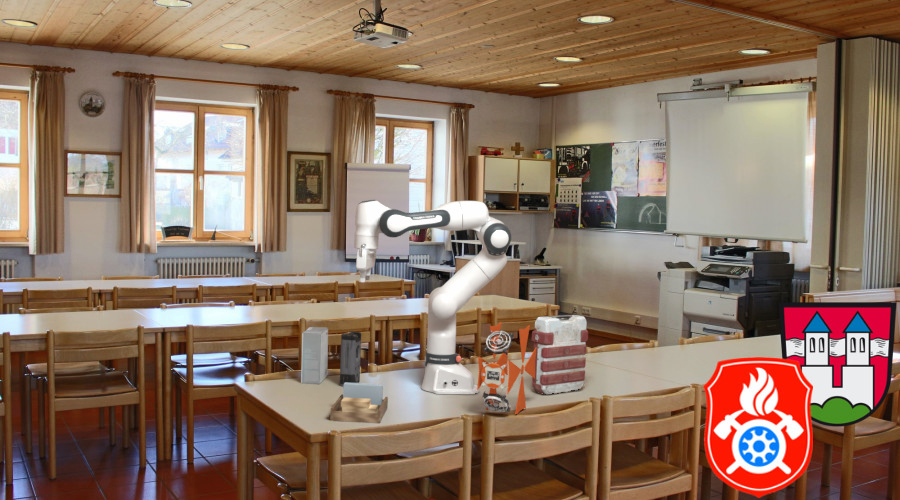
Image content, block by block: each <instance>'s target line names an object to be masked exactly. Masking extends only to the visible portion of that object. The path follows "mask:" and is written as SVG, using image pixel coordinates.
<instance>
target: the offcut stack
mask: <svg viewBox="0 0 900 500" xmlns="http://www.w3.org/2000/svg"><path fill="white" fill-rule="evenodd" d="M341 407H342V409H340V410H339V411H345V412H364V413H378V405H371V399H366V398H347V397H344V398H343V399H342V400H341Z"/></svg>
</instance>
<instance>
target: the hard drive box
mask: <svg viewBox="0 0 900 500" xmlns="http://www.w3.org/2000/svg"><path fill="white" fill-rule="evenodd" d="M328 345H329V327H325V326H324V327H323V326H309V327H308V328H307V329H306V330H304V331H303V332H302V333H301V364H300V365H301V367H300V369H301V370H300V371H301V372H300V384H311V385H320V384H321V383H322V382H323V381H324V380H325V379H326V378H327V376H328V359H329V357H328V352H329V351H328V350H329V348H328V347H329V346H328Z"/></svg>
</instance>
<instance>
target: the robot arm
mask: <svg viewBox="0 0 900 500" xmlns="http://www.w3.org/2000/svg"><path fill="white" fill-rule="evenodd" d="M354 225H355V232H354V240H353V241H354V242H353V243H354V245H353V247H354V249H357V252H356V260H355V261H356V262H355V269H356V271H359V272H358V273H359V282H360V283H366V281H369V280H370V279H371V272H372V268H374V267H375V264H376V258H377V250H378V249H379V236H380V234H383V235H384V236H386V237H389V238H398V237H401V236H403V235H405V234H406V233H407V232H411V231H417V230H426V229H438V230H441V231H450V232H456V231H467V230H473V232H474V235H475V236H476V238H477V240H479V242H480V243H481V244H482V247H481V250H480V251H479V252H478V254H476V255H475V256H474V257H473V258H472V259H470V260H469V261H468V262H467V263H466V264H465V265H463V267H461V268H459V270H458V271H456V272H455V274H453V276H451V278H449V279H448V280H447V281H446V282H445V283H444V284H442V286H439V287H436V288H434V289H433V290H431V292H430V294H429V295H428V296H429V297H428V301H427V302H428V306H427V308H428V309H427V335H426V336H427V337H426V351H425V355H424V366H425V368H424V374H423V375H424V376H423V380H422V384H421V386H420V389H422V390H423V391H426V392H429V393H433V394H436V395H476V394H475V393H477V394H479V393H480V388H479V389H478V391H477V386H478V384H475V379H474V375H473V373H472V372H471V371H470V370H469V369H468V368H467V367H465V366H464V365H463V364H462V363H461V361H462V357H461V355H460V354H459V353H457V352H456V344H457V343H456V341H457V313H458V312H459V311H460V310H461V309H462V308H463V307H464V306H465V305H466V304H467V303H468V302H469V301H470V300H471V299H472V298H473V297H474V296H475V295H476V294H477V293H478V292H480V290H482V289H483V288H484V287H486V285H488V284H489V283H490V282H491V281H492V280H494V279H495V278H496V277H497V276H498V275H499V273H501V271H502V270H503V268H505V267H506V265H507V263H508V257H507V255H506V252H507V250H508V248H509V246H510V244H511V241H512V233H511V230H510V228H509V227H508V226H507V225H506V224H505V223H504V222H503V221H501V220H499V219H497V218H496V217H493V216H491V215H490V213H489V208H488V207H487V204H486V203H484V202H483V201H478V200H456V201H450V202H446V203H442V204H440V205H438V206H437V207H435V208H434V209H431V210H423V211H416V212H405V211H402V210H399V209H395V208H391V207H387V206H386V205H384V204H382V203H381V202H379V201H378V200H377V199H369V200H364V201H361V202H358V204H357V206H356V210H355V220H354Z"/></svg>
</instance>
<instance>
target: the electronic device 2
mask: <svg viewBox="0 0 900 500" xmlns="http://www.w3.org/2000/svg"><path fill="white" fill-rule="evenodd" d="M530 327H531V325H530V324H529V325H527V326H526V327H525V328H518V334H519V343H520V346H519V347H520V353H521V363H522V364H521V367H519V366H517V364H515V363H514V362H513V361H511V360H510V359H508V357H509V349H510V347H511V346H512V339H513V338H514V333H513V332H511V333H508V332H506V331H504V330H501V328H502V321H500V322H499V323H498V324H496V325H489V333H490V334H489V335H488V336H487V338H486V341H485V343H486V344H485V345H486V347H484V348H483V349H484V352H485V353H486V354H488V352H489V353H490V352H491V354H492V357H493V358H492V359H493V360H494V361H493V362H490V363H489V362H488V361H486V360H485V359H483V358H482V357H480V356H478V378H477V391H478V389H479V390H480V387H481V388H482V387H484V386H487V387H488V388H489V391H488V392H489V393H486V391H484V392H483V393H482V398H483V399H484V400H483V405H484V406H485V407H486V409H485V411H486V410H487V411H489V410H490V411H492V412H496V413H504V412H507V413H510V411H511V406H510V403H509V400H508V399H507V395H509V393H510V391H511V390H512V388H513V387H514V384H515V383H516V381H517V378H518V377H519V376H520V375H522V376H521V378H520V383H519V388H518V389H519V390H518V395H517V401H516V405H515V407H516V408H515V412H514V415H515V414H517V415H518V414H519V413H520V412H521V411H522V409H524V408H526V409H527V404H526V394H525V384H524V376H523V374H524V371H525V372H526V373H527V374H528V375H530V376H531V377H533V378H534V379H535V358H536V349H537V347H536V348H535V350H534V349H533V351H532V353H531V355H530V357H529V358H528V360H527V361H526V364H525V365H524V362H525V356H526V350H527V347H528V346H527V345H528V338H529V332H530ZM504 336H505V339H506V340H505V341H504V338H503V337H504ZM508 339H509V340H508ZM490 341H491V342H490ZM489 345H490V346H491V347H489ZM502 347H503V348H502ZM498 354H501V355H500V356H499V358H498V359H497V362H496V361H495V360H496V356H497V355H498ZM506 376H508V380H507V386H504V385H503V384H504V383H505V379H506ZM498 388H500V389H502V390H505V388H507V390H506V391H507V393H505V394H504V395H501V394H499V393H497V389H498ZM488 409H489V410H488ZM524 410H525V409H524Z"/></svg>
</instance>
